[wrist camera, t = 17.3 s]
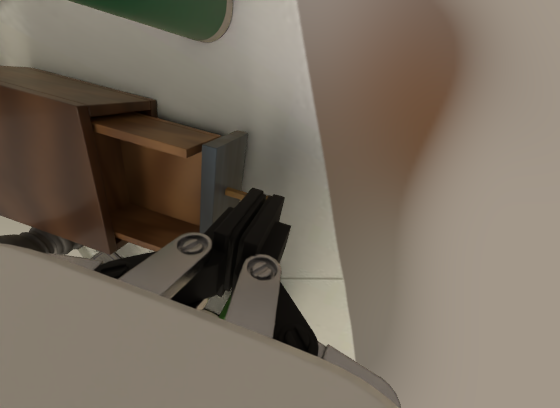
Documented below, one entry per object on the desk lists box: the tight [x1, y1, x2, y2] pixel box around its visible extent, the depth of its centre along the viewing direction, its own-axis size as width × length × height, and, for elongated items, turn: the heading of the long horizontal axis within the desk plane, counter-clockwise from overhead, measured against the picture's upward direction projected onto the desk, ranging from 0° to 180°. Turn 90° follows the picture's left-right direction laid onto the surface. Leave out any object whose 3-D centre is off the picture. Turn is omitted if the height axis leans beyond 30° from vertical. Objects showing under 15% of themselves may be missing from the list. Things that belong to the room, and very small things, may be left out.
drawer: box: [90, 112, 268, 251], centre depth 23 cm, size 20×14×6 cm
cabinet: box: [0, 66, 158, 255], centre depth 25 cm, size 16×15×8 cm
